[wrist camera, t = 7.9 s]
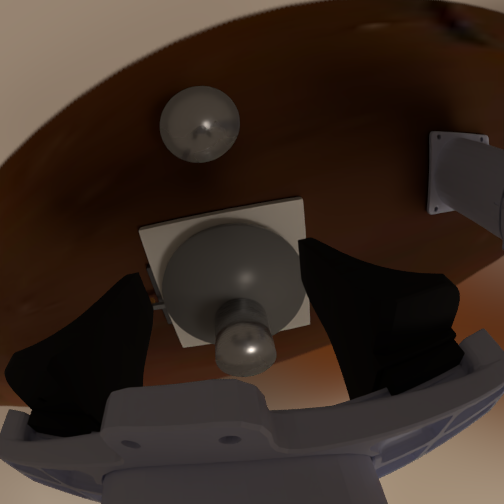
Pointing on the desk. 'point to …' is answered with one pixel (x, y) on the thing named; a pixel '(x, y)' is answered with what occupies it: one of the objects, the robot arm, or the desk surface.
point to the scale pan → (231, 277)
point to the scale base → (177, 231)
